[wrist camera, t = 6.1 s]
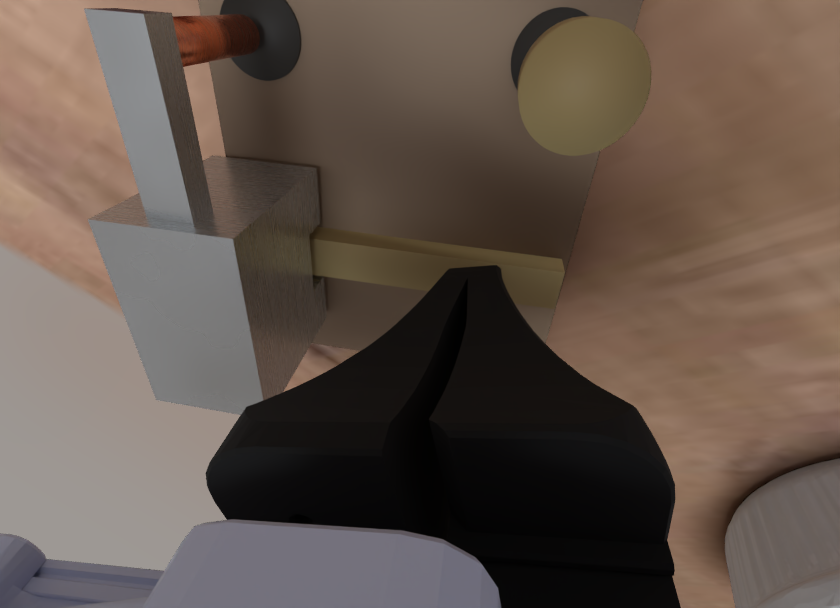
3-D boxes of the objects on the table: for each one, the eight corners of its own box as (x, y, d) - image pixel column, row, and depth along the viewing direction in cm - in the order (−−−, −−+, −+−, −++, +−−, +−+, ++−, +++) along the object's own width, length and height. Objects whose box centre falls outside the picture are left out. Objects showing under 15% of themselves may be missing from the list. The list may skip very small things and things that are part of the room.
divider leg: (326, 316, 15) (267, 419, 11) (241, 304, 15) (156, 399, 12) (306, 14, 10) (190, 19, 6) (183, 3, 10) (5, 3, 7)
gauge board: (533, 359, 16) (543, 496, 12) (269, 318, 17) (184, 430, 13) (670, -139, 9) (837, -289, 4) (195, -160, 10) (-72, -300, 5)
